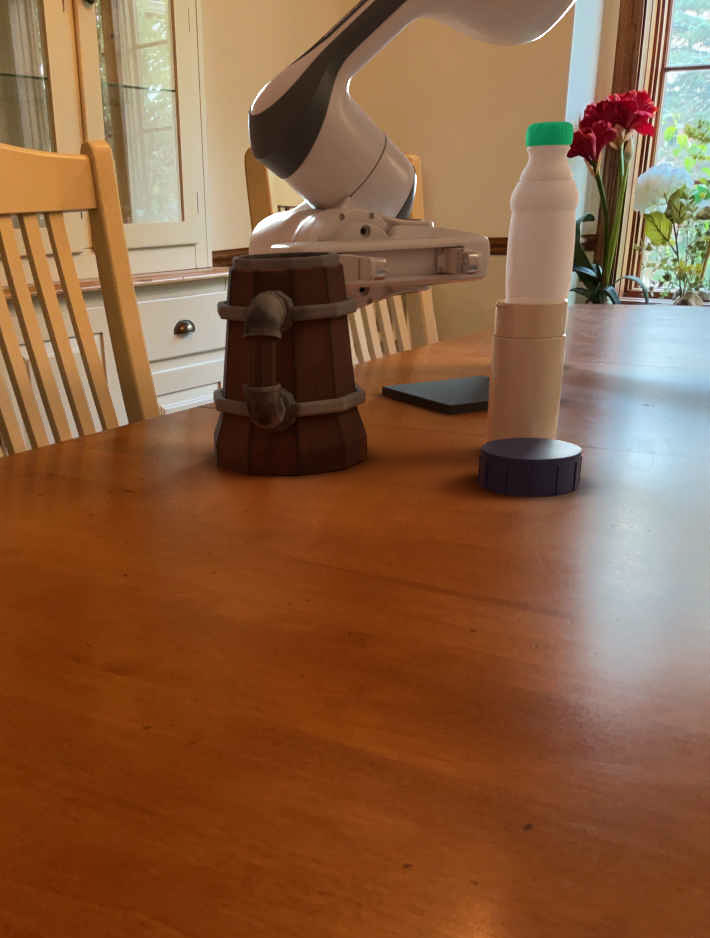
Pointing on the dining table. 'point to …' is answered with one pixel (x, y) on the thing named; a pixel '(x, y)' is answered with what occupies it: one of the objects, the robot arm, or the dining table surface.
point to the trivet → (444, 394)
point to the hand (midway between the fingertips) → (428, 266)
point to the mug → (288, 368)
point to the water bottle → (543, 217)
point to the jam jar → (526, 368)
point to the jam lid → (530, 467)
